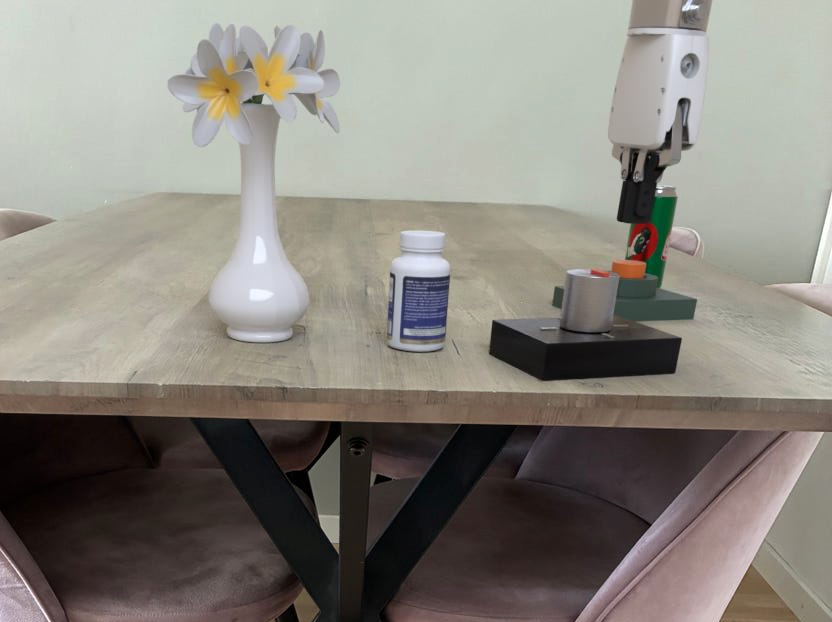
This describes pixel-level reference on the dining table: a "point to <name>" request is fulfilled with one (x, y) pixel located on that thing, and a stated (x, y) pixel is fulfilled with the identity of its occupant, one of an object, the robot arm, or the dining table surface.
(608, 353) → the dial panel
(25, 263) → the dining table surface
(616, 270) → the button
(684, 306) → the button block
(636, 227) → the soda can
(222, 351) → the dining table surface
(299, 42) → the flower vase
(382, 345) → the dining table surface
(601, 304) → the dial
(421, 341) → the pill bottle
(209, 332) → the dining table surface
